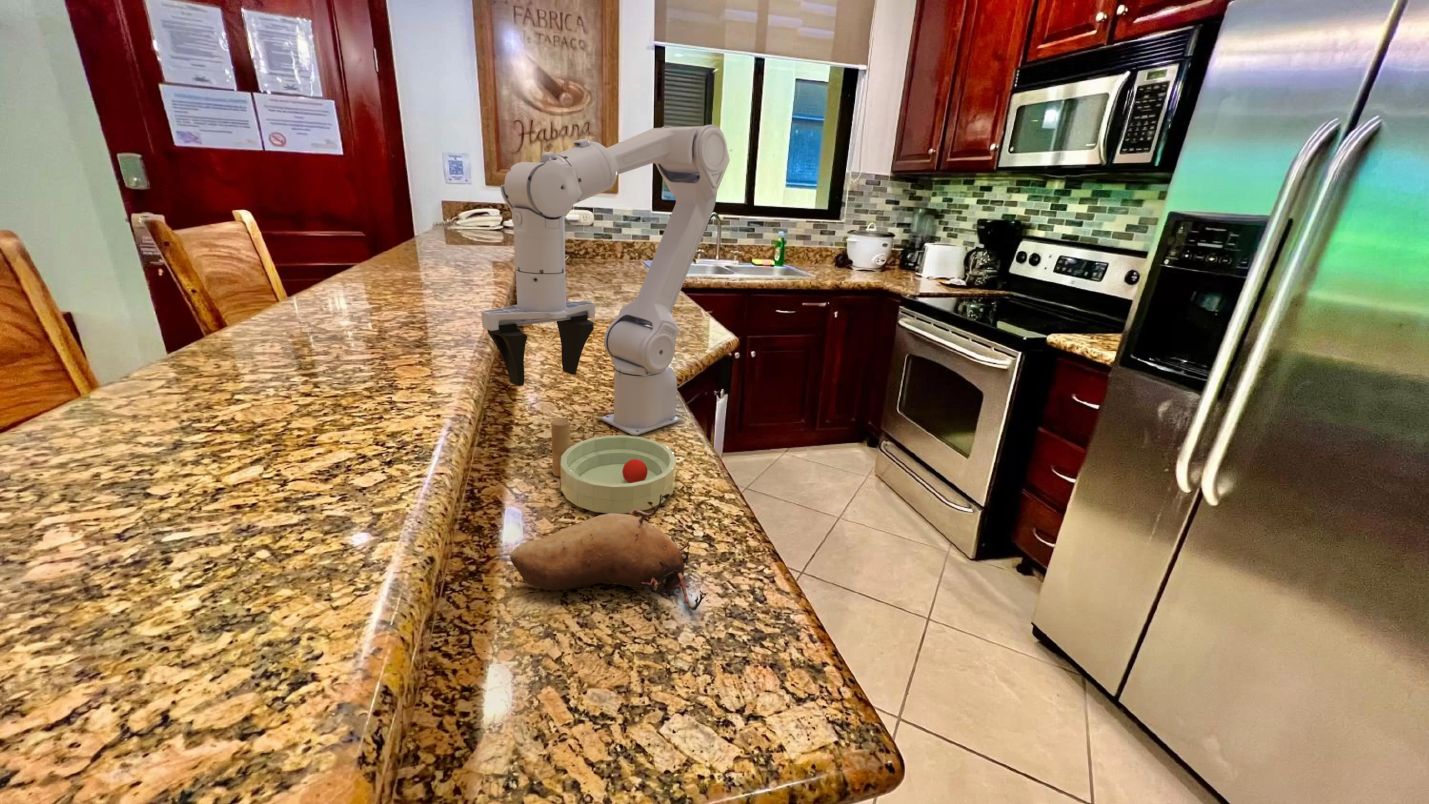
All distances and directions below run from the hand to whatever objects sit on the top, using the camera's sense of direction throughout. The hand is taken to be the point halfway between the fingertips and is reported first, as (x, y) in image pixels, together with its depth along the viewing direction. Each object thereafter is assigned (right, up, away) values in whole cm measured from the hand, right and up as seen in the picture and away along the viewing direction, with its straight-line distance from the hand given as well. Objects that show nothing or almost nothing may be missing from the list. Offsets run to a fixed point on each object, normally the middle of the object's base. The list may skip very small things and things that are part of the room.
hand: (544, 378), depth 71 cm
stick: (+3, -12, -2) cm, 12 cm away
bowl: (+10, -14, -4) cm, 17 cm away
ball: (+12, -12, -4) cm, 17 cm away
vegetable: (+12, -21, -22) cm, 32 cm away
